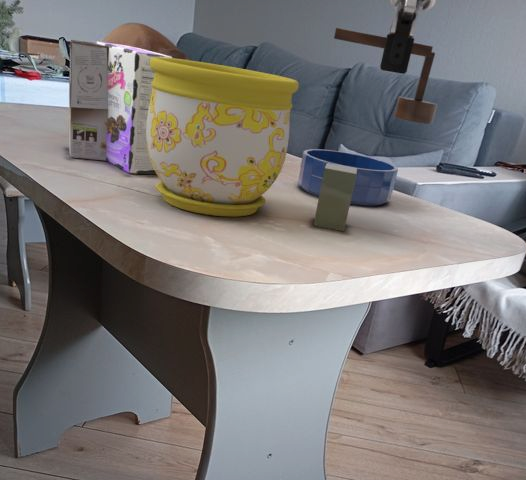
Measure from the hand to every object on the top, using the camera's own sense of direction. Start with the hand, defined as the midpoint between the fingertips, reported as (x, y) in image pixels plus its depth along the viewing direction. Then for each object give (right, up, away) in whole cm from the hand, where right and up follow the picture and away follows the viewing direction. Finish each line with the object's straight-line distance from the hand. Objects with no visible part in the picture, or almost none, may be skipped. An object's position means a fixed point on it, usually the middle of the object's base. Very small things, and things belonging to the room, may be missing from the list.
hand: (392, 70), depth 77 cm
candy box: (-37, -6, +19) cm, 42 cm away
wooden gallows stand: (-2, -4, +2) cm, 5 cm away
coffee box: (-44, -4, +21) cm, 49 cm away
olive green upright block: (-7, -18, +4) cm, 20 cm away
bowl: (-3, -9, +24) cm, 26 cm away
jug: (-36, +4, +39) cm, 53 cm away
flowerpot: (-23, -16, +4) cm, 28 cm away
